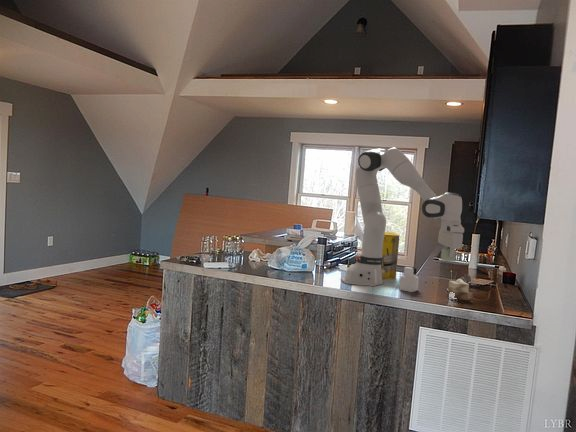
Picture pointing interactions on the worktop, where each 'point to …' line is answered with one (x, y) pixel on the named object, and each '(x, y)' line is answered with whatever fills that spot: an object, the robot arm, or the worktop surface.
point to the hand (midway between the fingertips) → (448, 255)
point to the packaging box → (390, 255)
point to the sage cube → (445, 255)
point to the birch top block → (458, 286)
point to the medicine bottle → (409, 280)
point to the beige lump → (459, 295)
